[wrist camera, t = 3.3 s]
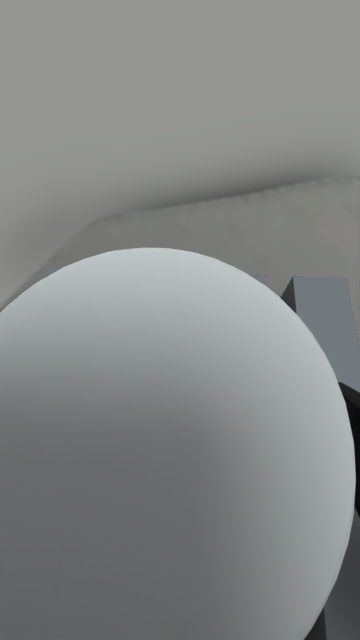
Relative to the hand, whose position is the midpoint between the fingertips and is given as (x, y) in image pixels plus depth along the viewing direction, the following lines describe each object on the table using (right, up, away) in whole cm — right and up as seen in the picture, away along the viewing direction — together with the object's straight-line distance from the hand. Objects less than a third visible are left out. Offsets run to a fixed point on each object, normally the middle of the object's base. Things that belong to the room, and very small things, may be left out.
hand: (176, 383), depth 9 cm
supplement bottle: (0, -4, +6) cm, 7 cm away
